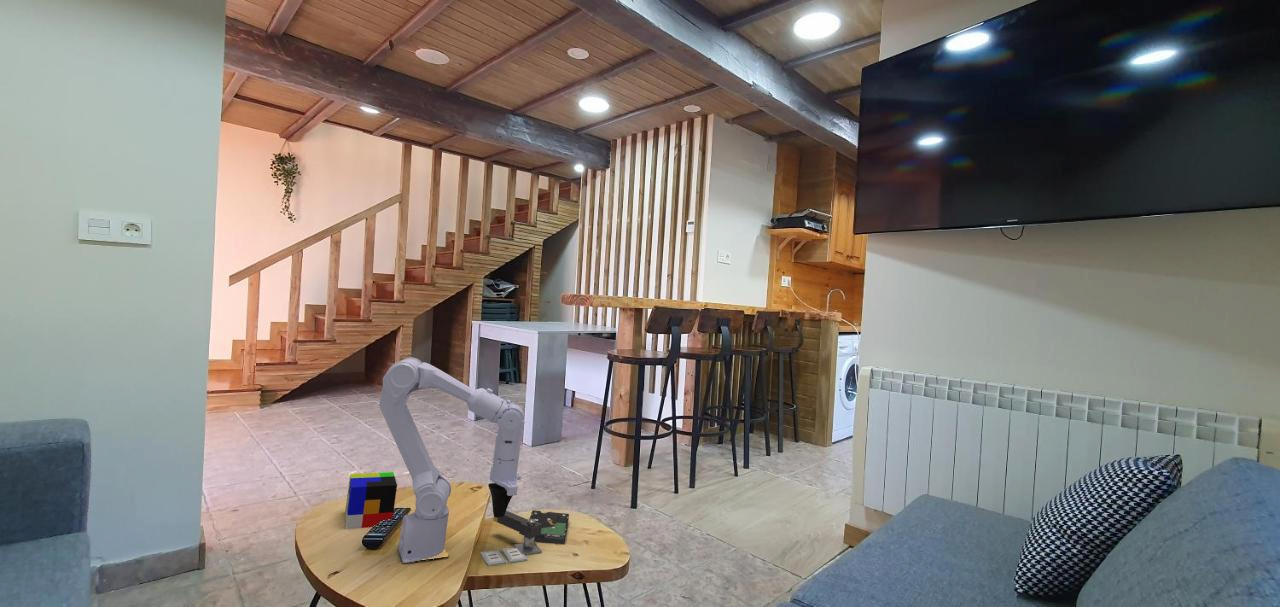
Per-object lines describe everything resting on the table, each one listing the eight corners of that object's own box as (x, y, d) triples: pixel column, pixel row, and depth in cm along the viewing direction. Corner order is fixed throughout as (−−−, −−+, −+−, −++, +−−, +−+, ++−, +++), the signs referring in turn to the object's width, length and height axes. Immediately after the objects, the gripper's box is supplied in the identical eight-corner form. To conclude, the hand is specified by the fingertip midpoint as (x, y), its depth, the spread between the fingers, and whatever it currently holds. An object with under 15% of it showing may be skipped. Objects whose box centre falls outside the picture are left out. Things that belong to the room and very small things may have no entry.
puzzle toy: (345, 529, 124) (351, 487, 125) (344, 513, 133) (350, 473, 133) (391, 525, 129) (397, 485, 130) (388, 510, 138) (393, 472, 138)
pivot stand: (521, 555, 122) (525, 525, 122) (514, 546, 126) (518, 517, 126) (541, 553, 125) (545, 523, 125) (534, 543, 129) (537, 515, 129)
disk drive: (530, 520, 144) (523, 543, 130) (531, 509, 144) (524, 531, 130) (568, 523, 145) (565, 546, 130) (569, 513, 145) (566, 535, 131)
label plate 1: (488, 566, 115) (488, 563, 115) (480, 554, 120) (480, 551, 120) (505, 563, 117) (506, 561, 117) (497, 551, 122) (498, 549, 122)
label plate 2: (510, 563, 118) (510, 560, 118) (501, 551, 123) (502, 548, 123) (527, 560, 120) (527, 558, 120) (518, 549, 125) (518, 546, 125)
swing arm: (540, 534, 126) (542, 523, 126) (530, 538, 123) (531, 527, 123) (502, 517, 133) (503, 507, 133) (491, 521, 130) (492, 511, 130)
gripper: (533, 466, 118) (525, 527, 117) (513, 448, 130) (506, 503, 130) (502, 467, 114) (494, 530, 114) (484, 448, 126) (477, 505, 126)
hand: (498, 516), depth 121 cm, fingers closed
